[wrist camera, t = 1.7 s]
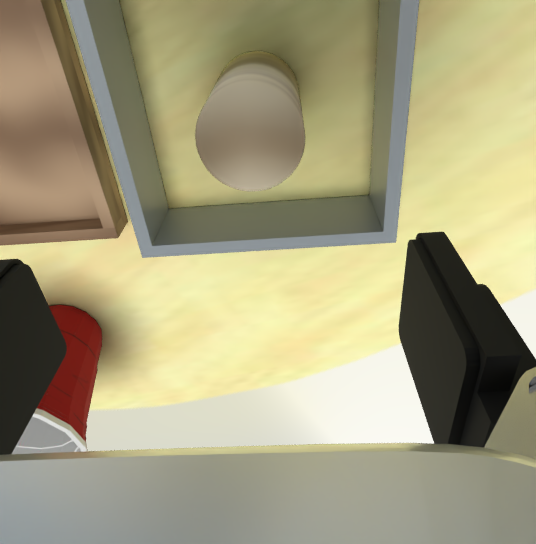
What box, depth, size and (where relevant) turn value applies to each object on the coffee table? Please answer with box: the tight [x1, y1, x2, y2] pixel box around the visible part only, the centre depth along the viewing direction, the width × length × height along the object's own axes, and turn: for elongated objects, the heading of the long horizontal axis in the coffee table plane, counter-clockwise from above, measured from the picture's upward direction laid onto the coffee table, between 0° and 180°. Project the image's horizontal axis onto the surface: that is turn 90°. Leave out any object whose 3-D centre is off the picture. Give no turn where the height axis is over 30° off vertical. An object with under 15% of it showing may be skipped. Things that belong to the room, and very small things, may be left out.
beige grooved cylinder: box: [195, 51, 305, 191], centre depth 23 cm, size 5×5×8 cm
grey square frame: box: [66, 0, 419, 258], centre depth 24 cm, size 16×16×5 cm
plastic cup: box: [12, 305, 102, 454], centre depth 33 cm, size 11×11×12 cm
